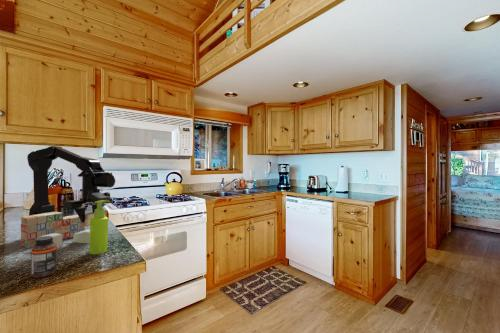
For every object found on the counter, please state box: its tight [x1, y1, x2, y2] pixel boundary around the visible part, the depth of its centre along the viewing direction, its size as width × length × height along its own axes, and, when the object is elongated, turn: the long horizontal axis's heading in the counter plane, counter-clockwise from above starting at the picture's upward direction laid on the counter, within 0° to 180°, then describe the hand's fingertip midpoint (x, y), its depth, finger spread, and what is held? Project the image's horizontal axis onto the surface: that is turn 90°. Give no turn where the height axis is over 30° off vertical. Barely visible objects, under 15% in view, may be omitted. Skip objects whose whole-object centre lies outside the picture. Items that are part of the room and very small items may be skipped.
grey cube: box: [40, 233, 63, 248], centre depth 94 cm, size 5×5×5 cm
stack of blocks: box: [20, 211, 86, 248], centre depth 104 cm, size 21×6×12 cm, turn 153°
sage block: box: [72, 228, 90, 244], centre depth 104 cm, size 8×8×4 cm
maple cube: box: [80, 211, 94, 227], centre depth 104 cm, size 5×5×5 cm
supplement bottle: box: [30, 236, 58, 279], centre depth 71 cm, size 6×6×11 cm
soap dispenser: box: [89, 200, 110, 255], centre depth 91 cm, size 6×7×20 cm
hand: (89, 221), depth 104 cm, fingers closed on maple cube, 5 cm apart
